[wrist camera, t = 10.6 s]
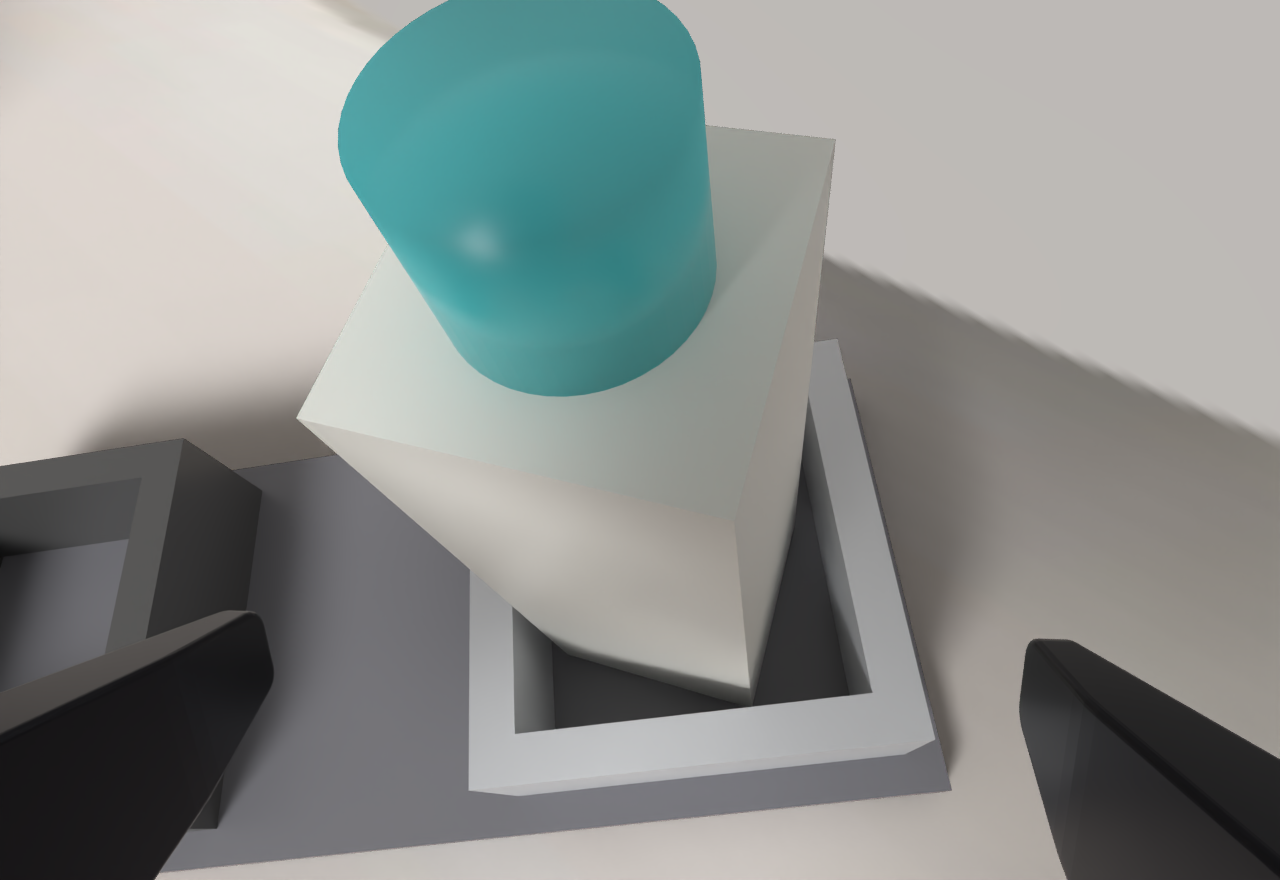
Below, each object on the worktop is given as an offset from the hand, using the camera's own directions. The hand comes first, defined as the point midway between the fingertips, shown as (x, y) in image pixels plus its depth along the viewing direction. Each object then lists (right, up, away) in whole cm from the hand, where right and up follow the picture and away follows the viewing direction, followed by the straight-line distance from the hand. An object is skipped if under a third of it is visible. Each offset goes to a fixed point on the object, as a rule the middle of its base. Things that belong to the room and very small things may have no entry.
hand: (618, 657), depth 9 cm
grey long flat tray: (-6, -2, +9) cm, 11 cm away
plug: (+1, -1, +8) cm, 8 cm away
